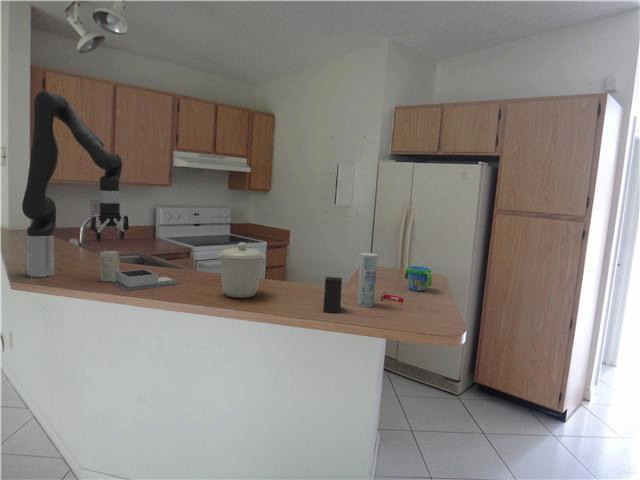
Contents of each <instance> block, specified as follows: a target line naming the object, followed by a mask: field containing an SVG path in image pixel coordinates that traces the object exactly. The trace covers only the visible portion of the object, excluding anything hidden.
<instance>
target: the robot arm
mask: <svg viewBox="0 0 640 480" xmlns="http://www.w3.org/2000/svg"><path fill="white" fill-rule="evenodd" d="M33 104H34V105H33V133H32V144H31V148H30V149H31V150H30V158H29V166H28V167H29V168H28V174H27V176H28V177H27V182H26V188H25V192H24V196H23V198H22V199H23V200H22V204H21V209H22V212H23V215H24V216H25V217H26V218H27V219H30V220H32V222H31V223H30V225H29V226H28V227H27V228H26V229H27V230H26V234H27V235H26V236H27V238H26V241H27V242H26V244H27V245H26V246H27V252H26V276H28V277H29V276H30V277H29V278H48V277H52V276H54V275H55V253H54V252H55V248H54V247H55V244H54V231H55V229H56V225H57V224H56V222H57V221H56V220H57V207H56V204H55V201H54V200H53V199H52V198H51V197H48V196H46V192H47V187H48V184H49V183H50V180H51V178H52V177H53V175H54V173H55V172H56V169H57V165H58V161H59V147H58V144H57V141H56V138H55V134H54V120H55V119H54V118H57V119H58V120H60V121H61V122H62V123H64V124H65V125H66V126H67V128H68V129H69V131H70V132H71V134H72V136H73V138H74V140H75V141H76V142H77V143H78V145H80V147H82V149H84V150H85V151H86V152H87V153H88V155H89V156H90V158H91V160H92V161H93V162H94V164H95V165H96V166H97V167H99V168H100V169H102V170H104V175H102V176H101V177H100V178H99V194H98V195H99V196H98V199H99V200H98V203H99V205H98V206H99V215H98V216H94V215H91V216H90V229H89V230H90V231H91V232H94V233H95V240H96V241H97V242H98V243H102V233H101V232H102V231H103V229H104V228H105V227H106V228H109V227H116V228H117V229H118V230H119V231H118V240H119V241H120V242H121V241H123V240H124V239H125V232H126V231H128V230H130V226H129V224H130V223H129V216H127V215H121V214H120V213H121V198H120V179H121V174H122V168H123V161H122V157H121V156H120V155H119V154H117V153H115V152H109V151H107V149H105V148H104V147H105V145H104V142H103V141H102V140H101V139H100V138H99V137H98V136H97V135H96V134H95V132H93V131H92V130H91V129H90V128H89V127H88V125H87V124H85V122H84V121H83V120H82V119H81V118H80V116H79V115H78V114H77V113H76V111H75V110H74V109H73V106H72V105H71V104H70V103H69V101H68V100H67V99H66V98H65V97H64V96H62V95H61V94H59V93H56V92H52V91H49V90H45V89H44V90H40V91H39V92H38V93H37V94H36V96H35V97H34V102H33ZM98 221H99V224H98V225H97V222H98ZM120 221H123V223H122V224H123V226H122V225H121V223H120ZM96 226H97V227H96ZM47 276H48V277H47Z"/></svg>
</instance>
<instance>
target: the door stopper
mask: <svg viewBox="0 0 640 480" xmlns="http://www.w3.org/2000/svg"><path fill="white" fill-rule="evenodd" d="M324 279H325V280H324V281H325V282H324V294H323V295H324V296H323V313H331V314H340V313H341V303H342V302H341V300H342V284H343V277H336V276H335V277H334V276H333V277H332V276H325V278H324Z"/></svg>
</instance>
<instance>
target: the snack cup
mask: <svg viewBox="0 0 640 480" xmlns="http://www.w3.org/2000/svg"><path fill="white" fill-rule="evenodd" d="M431 272H432V269H430V268H429V267H425V266H417V265H410V266H407V267H406V270H405V273H404V278H405V280H407V283H408V290H411V291H414V292H419V293H421V292H424V291H426V288H427V287H429V288H430V287H431V286H432V285H433V280H432V274H431Z"/></svg>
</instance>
